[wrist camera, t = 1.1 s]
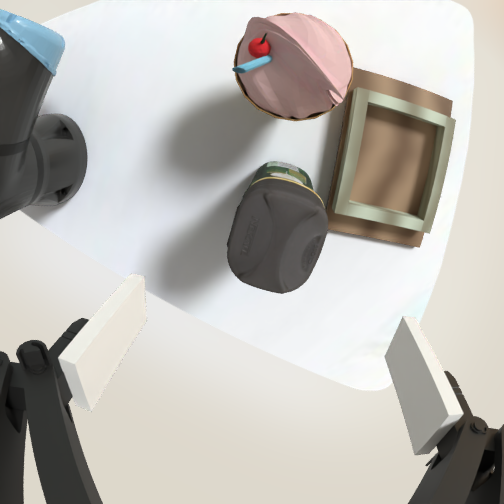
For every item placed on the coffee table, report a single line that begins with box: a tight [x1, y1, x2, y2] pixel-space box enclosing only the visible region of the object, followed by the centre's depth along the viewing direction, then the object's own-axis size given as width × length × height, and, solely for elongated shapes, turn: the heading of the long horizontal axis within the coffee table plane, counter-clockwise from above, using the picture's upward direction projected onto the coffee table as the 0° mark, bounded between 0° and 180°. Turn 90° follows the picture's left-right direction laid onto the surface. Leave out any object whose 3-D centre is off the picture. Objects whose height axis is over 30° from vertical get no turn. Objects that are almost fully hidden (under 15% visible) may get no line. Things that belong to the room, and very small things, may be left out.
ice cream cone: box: [233, 12, 353, 121], centre depth 26 cm, size 11×11×20 cm
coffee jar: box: [227, 161, 328, 294], centre depth 33 cm, size 10×8×19 cm
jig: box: [326, 67, 456, 248], centre depth 36 cm, size 15×22×4 cm
